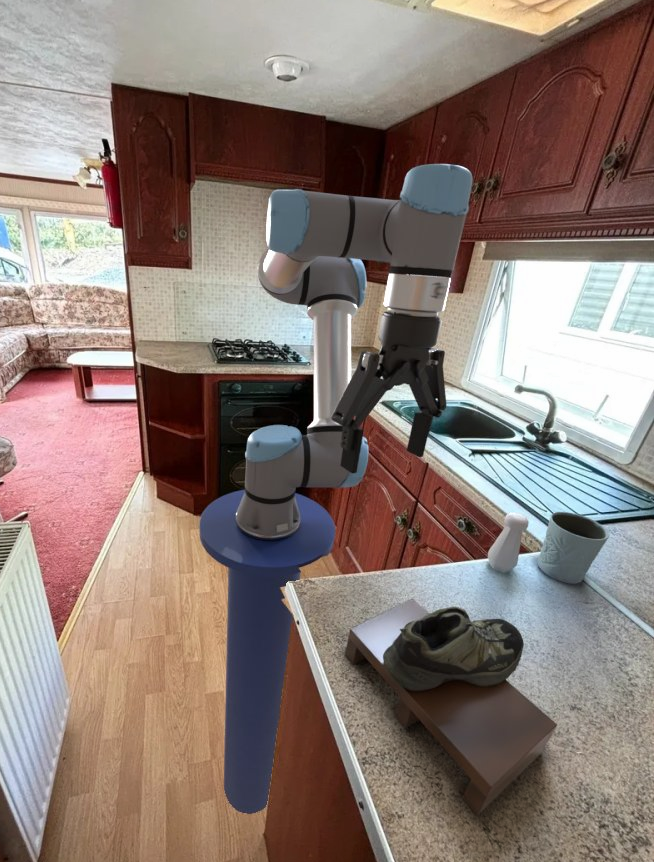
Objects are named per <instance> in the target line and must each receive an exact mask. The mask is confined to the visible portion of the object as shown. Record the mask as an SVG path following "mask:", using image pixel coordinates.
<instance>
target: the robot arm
mask: <svg viewBox="0 0 654 862" xmlns="http://www.w3.org/2000/svg"><path fill="white" fill-rule="evenodd" d="M472 186H473V175H472V172H471V171H470V170H469V169H468V168H466V167H465V166H461V165H457V164H448V163H432V164H430V163H429V164H422V165H418V166H415V167H412V168H411V169H410V170H409V171H408V172H407V173H406V175H405V177H404V182H403V186H402V190H401V191H400V194H399V199H386V198H377V197H366V196H365V197H364V196H354V195H346V194H345V195H344V194H337V193H336V194H335V193H326V192H320V191H319V192H318V191H311V190H310V191H309V190H303V189H299V188H294V189H275V190H273V191H272V192H271V194H270V195H269V198H268V206H267V212H266V226H265V227H266V228H265V229H266V232H265V237H266V238H265V240H266V241H265V242H266V246H267V249H266V250H265V251H264V252H263V253H262V254H261V256H260V258H259V261H258V264H257V269H256V271H257V273H256V275H257V279H258V282H259V284H260V285H261V288H262V289H263V290H264V291H265V292H266V293H267V294H268V295H270V296H271V297H272V298H274V299H276V300H278V301H280V302H283V303H285V304H290V305H298V306H306V313H307V317H308V318H310V319H311V320H312V321H313V421H311V423H310V424H309V425H308V426H307V427H306V428H307V429H306V434H302V433H301V431H300V430H299V429H298V428H297V427H294V426H291V425H290V426H288V425H287V424H286V425H284V424H273V425H267V426H263V427H260V428H258V429H257V430H254V431H253V432H251V434H250V435H249V436H248V437H247V441H246V451H245V452H244V457H245V475H244V476H245V477H244V490H245V493H244V495H243V498H242V500H241V503H240V505H239V507H238V510H237V513H236V525H237V528H238V529H239V530H240V531H241V532H242V533H243V534H244V535H246V536H248V537H250V538H253V539H256V540H260V541H280V540H284V539H287V538H289V537H291V536H293V535H294V534H295V533H296V532H297V531H298V530H299V527H300V513H299V509H298V505H297V502H296V498H295V493H296V489H297V488H335V489H341V488H353V487H356V486H357V485H359V484H360V483H361V481H362V480H363V478H364V476H365V473H366V470H367V466H368V462H369V451H370V449H369V445H368V439H367V438H366V437H365V436H364V432H365V431H364V430H365V429H363V428H362V427H361V426H362V425H363V423H364V421H365V420H366V419H367V418H368V416H369V415H370V414H371V412H372V411H373V410H374V409H375V407H376V406H377V405H378V403H379V402H380V401H381V399H382V398H383V396H384V395H385V394H386V393H387V392H388V391H391V390H392V389H393V388H394V387H399V386H402V385H404V384H405V385H408V386H409V388H410V390H411V393H412V395H413V398H414V400H415V402H416V405H417V407H418V409H419V411H415V412H414V415H413V419H412V424H411V429H410V432H409V438H408V443H407V447H406V452H408V453H410V454H412V455H414V456H416V457H418V458H422V457H424V453H425V450H426V446H427V441H428V437H429V434H430V432H431V429H432V426H433V421H434V418H437V419H439V418H440V417H442V414H443V411H445V410H446V408H447V397H446V385H445V373H444V361H445V355H446V352H445V350H443V349H440V348H435V346H436V345H437V344H438V341H439V336H440V331H441V327H442V322H443V319H442V318H441V317H440V316H439V314H440V313H443V312H444V311H445V307H446V303H447V297H448V294H449V288H450V284H451V280H452V279H451V278H452V277H453V276H452V275H453V271H454V269H455V265H456V260H457V256H458V252H459V248H460V244H461V239H462V235H463V231H464V227H465V223H466V219H467V215H468V212H469V209H470V207H469V202H470V198H471V197H470V196H471V190H472ZM362 260H364V261H376V262H377V263H387V264H390V265H389V268H388V277H387V282H386V288H385V293H384V298H383V299H384V300H383V304H382V305H383V307H385V308H386V311H384V312H383V313H382V314H381V318H380V322H379V329H378V336H377V337H378V341H380V345H381V346H380V349H379V351H378V353H377V352H372V351H368V350H365V349H364V350H361V351H360V353H359V356H358V361H357V365H356V367H355V370H354V372H353V374H352V318H353V317H355V315H357V313H358V309H360V308H361V307H362V305H363V304H364V302H365V298H366V294H367V293H366V289H367V272H366V268H365V265H364V263H363V261H362Z"/></svg>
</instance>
